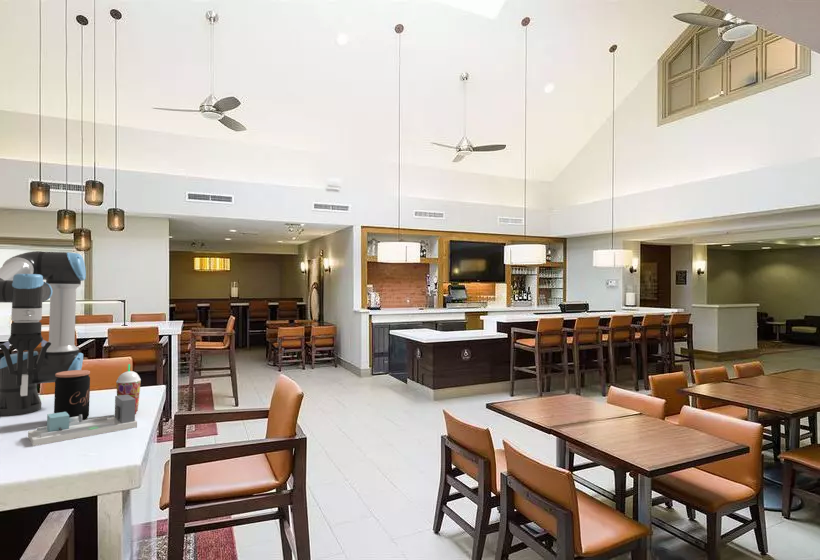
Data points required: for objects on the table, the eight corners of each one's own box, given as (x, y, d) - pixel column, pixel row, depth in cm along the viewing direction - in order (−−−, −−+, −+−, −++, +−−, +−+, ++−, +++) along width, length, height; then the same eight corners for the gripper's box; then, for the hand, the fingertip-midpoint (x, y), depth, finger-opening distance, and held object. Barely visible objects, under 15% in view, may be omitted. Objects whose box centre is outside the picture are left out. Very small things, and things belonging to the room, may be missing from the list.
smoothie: (111, 418, 173) (113, 366, 173) (119, 412, 181) (120, 362, 181) (136, 417, 175) (138, 365, 176) (142, 411, 183) (144, 362, 184)
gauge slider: (46, 429, 151) (47, 414, 152) (79, 423, 158) (79, 409, 158) (51, 435, 145) (51, 420, 145) (85, 429, 152) (85, 414, 152)
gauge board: (28, 437, 150) (29, 407, 150) (127, 420, 171) (128, 393, 171) (32, 446, 142) (34, 414, 142) (137, 427, 163) (137, 399, 163)
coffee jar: (70, 425, 164) (71, 375, 164) (46, 423, 166) (47, 374, 166) (95, 417, 174) (97, 370, 175) (73, 415, 176) (74, 369, 177)
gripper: (0, 322, 138) (-3, 400, 137) (54, 321, 148) (51, 393, 147) (-2, 321, 143) (-5, 396, 143) (50, 320, 153) (47, 390, 152)
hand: (23, 395), depth 145 cm, fingers closed
